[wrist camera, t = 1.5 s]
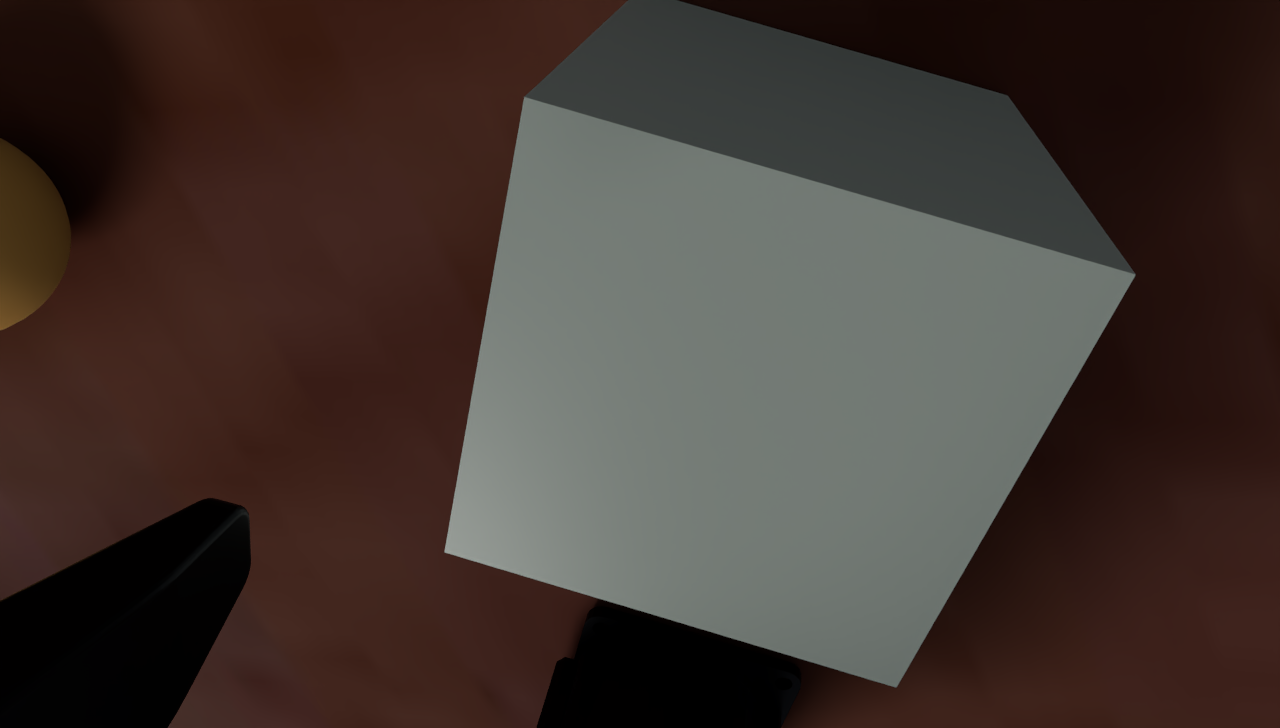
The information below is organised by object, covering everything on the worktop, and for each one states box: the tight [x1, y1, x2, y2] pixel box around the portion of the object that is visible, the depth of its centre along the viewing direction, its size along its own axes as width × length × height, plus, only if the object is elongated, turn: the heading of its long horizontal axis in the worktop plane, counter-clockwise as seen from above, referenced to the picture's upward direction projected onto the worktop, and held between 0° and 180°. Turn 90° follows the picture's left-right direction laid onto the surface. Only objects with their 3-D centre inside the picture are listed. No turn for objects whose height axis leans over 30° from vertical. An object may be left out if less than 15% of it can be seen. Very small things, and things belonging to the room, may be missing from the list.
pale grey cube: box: [445, 0, 1136, 687], centre depth 17 cm, size 8×8×9 cm
